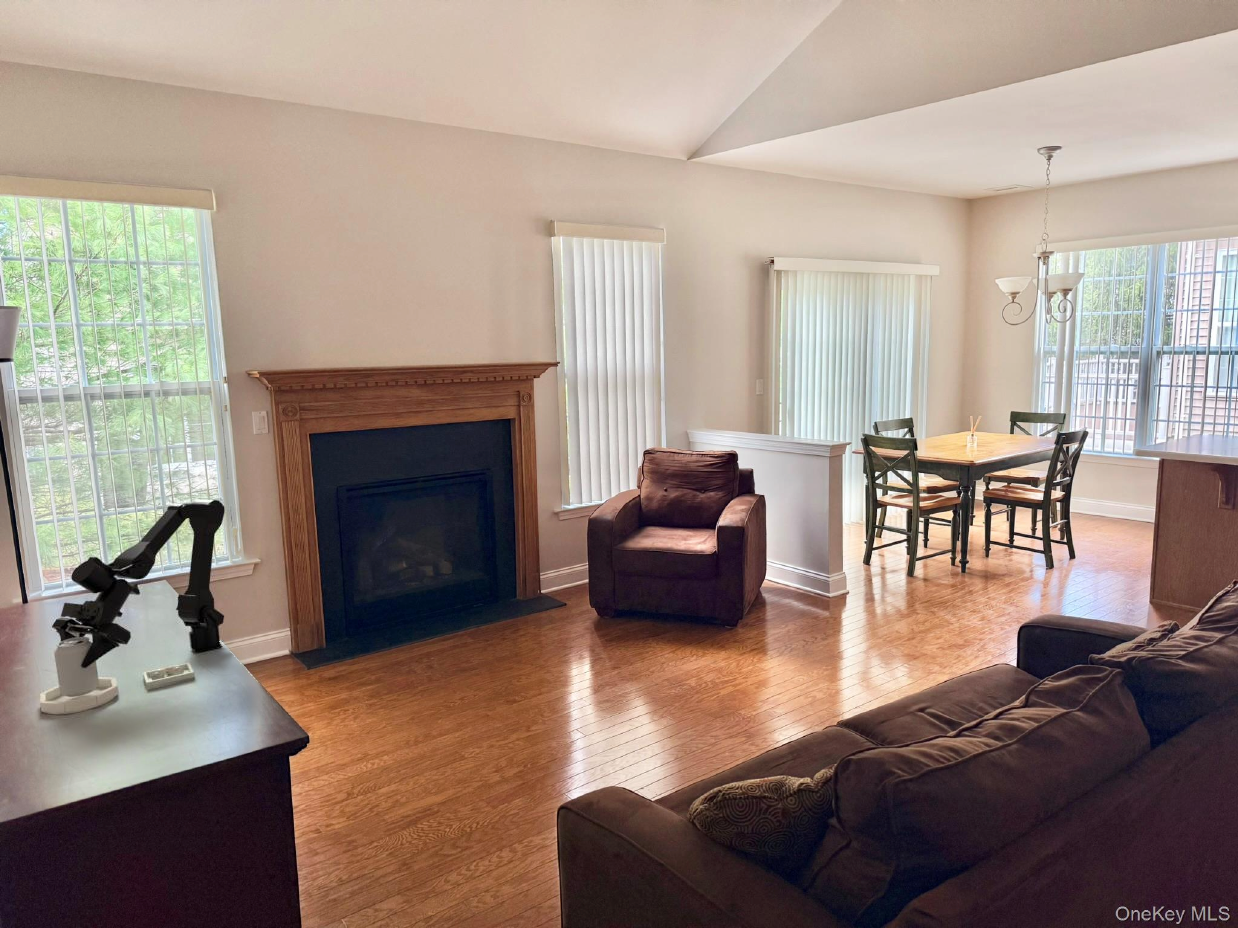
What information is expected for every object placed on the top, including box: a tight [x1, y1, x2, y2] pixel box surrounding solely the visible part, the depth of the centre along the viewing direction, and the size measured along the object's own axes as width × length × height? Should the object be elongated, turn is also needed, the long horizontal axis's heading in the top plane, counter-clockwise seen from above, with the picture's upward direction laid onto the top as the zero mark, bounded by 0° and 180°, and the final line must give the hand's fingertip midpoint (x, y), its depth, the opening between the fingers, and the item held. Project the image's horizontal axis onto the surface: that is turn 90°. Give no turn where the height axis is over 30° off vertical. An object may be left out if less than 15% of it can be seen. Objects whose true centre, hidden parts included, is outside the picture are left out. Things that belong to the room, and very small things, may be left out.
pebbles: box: [152, 665, 184, 680], centre depth 200 cm, size 7×5×2 cm
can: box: [53, 636, 99, 697], centre depth 189 cm, size 8×8×12 cm
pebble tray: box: [142, 662, 196, 691], centre depth 201 cm, size 10×8×2 cm
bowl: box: [39, 676, 119, 716], centre depth 190 cm, size 15×15×3 cm
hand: (70, 665), depth 188 cm, fingers closed on can, 7 cm apart
